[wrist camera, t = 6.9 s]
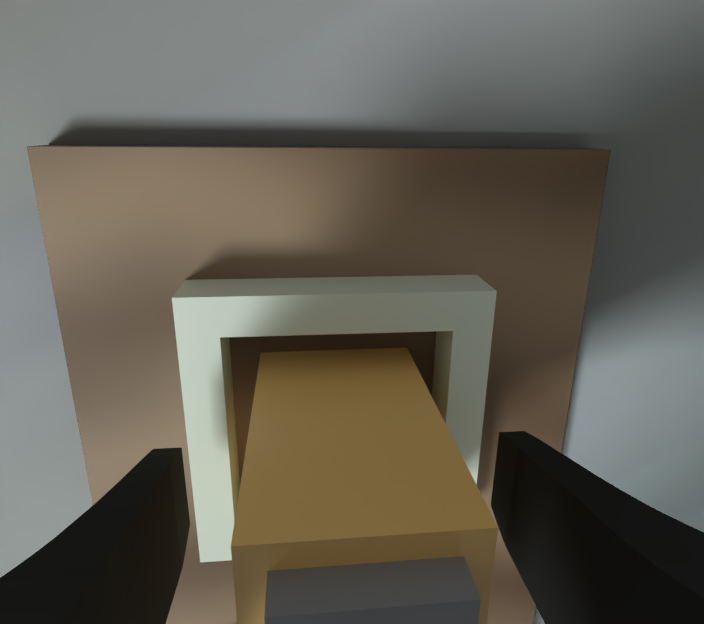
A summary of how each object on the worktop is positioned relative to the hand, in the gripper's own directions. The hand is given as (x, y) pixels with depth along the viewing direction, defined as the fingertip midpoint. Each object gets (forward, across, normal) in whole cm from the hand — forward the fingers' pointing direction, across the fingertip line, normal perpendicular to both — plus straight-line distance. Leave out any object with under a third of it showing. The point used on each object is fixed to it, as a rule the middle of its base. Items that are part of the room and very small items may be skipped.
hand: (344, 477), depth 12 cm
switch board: (+4, 0, +6) cm, 7 cm away
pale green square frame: (+4, 0, 0) cm, 4 cm away
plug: (+3, 0, 0) cm, 3 cm away
